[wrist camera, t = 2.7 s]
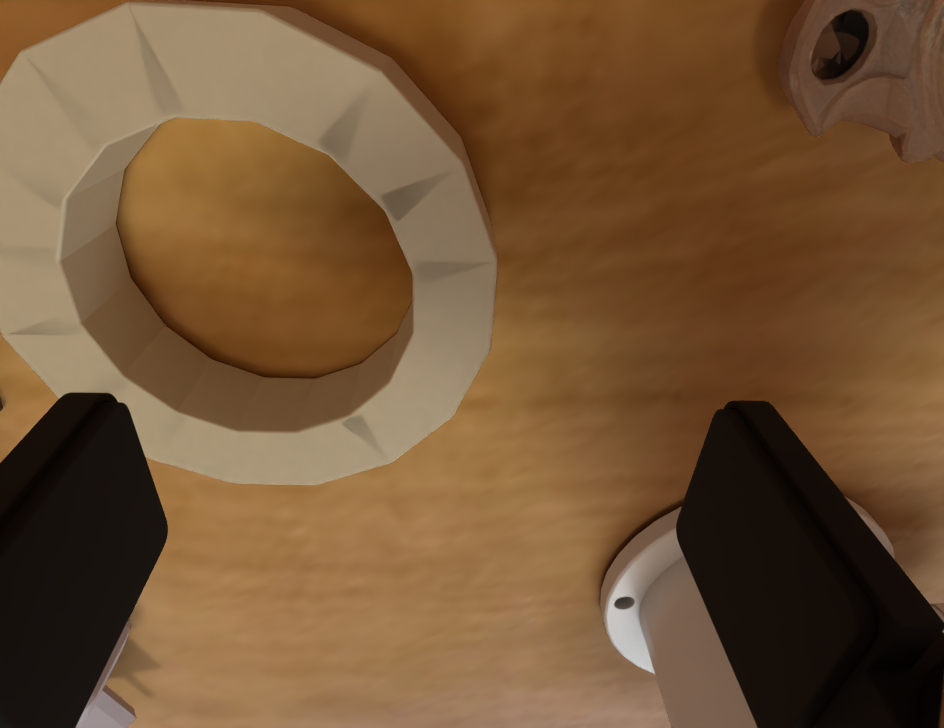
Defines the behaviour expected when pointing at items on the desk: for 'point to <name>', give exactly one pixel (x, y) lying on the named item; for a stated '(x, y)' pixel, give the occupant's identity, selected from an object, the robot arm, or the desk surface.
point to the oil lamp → (869, 69)
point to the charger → (108, 697)
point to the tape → (127, 310)
